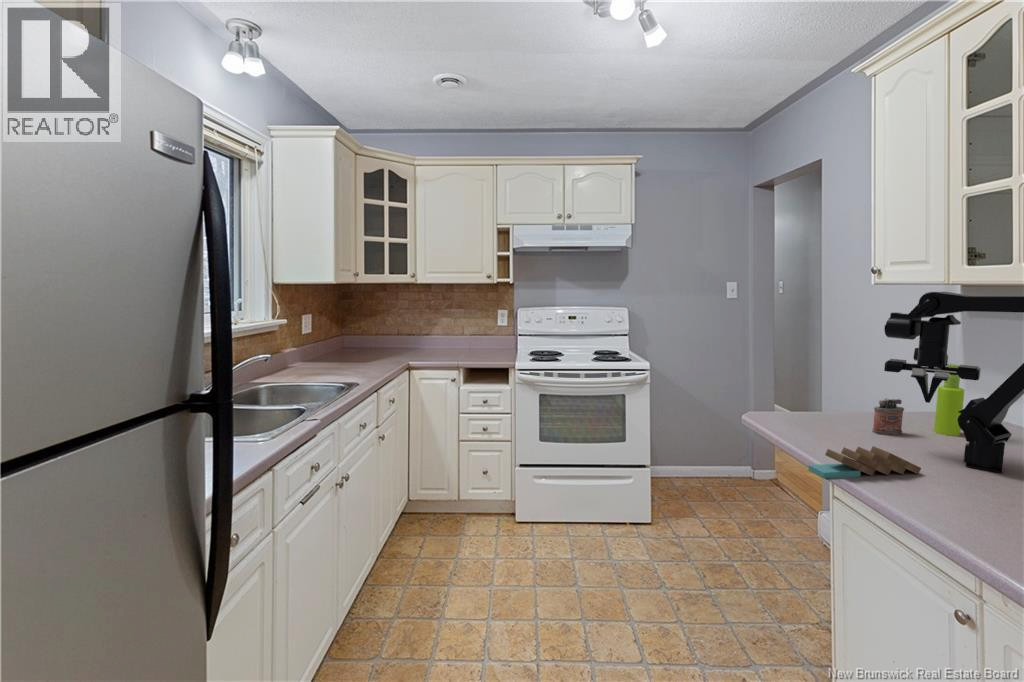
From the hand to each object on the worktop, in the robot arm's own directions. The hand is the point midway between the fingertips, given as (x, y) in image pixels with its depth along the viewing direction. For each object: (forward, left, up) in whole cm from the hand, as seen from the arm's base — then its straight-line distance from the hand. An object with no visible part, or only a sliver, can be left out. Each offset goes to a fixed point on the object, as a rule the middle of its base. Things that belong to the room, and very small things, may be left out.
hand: (927, 402), depth 136 cm
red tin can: (+10, -14, -13) cm, 22 cm away
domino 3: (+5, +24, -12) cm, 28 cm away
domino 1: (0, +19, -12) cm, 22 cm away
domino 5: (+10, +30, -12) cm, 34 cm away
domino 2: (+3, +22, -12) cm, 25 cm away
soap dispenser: (-2, -26, -13) cm, 29 cm away
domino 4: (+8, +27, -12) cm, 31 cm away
